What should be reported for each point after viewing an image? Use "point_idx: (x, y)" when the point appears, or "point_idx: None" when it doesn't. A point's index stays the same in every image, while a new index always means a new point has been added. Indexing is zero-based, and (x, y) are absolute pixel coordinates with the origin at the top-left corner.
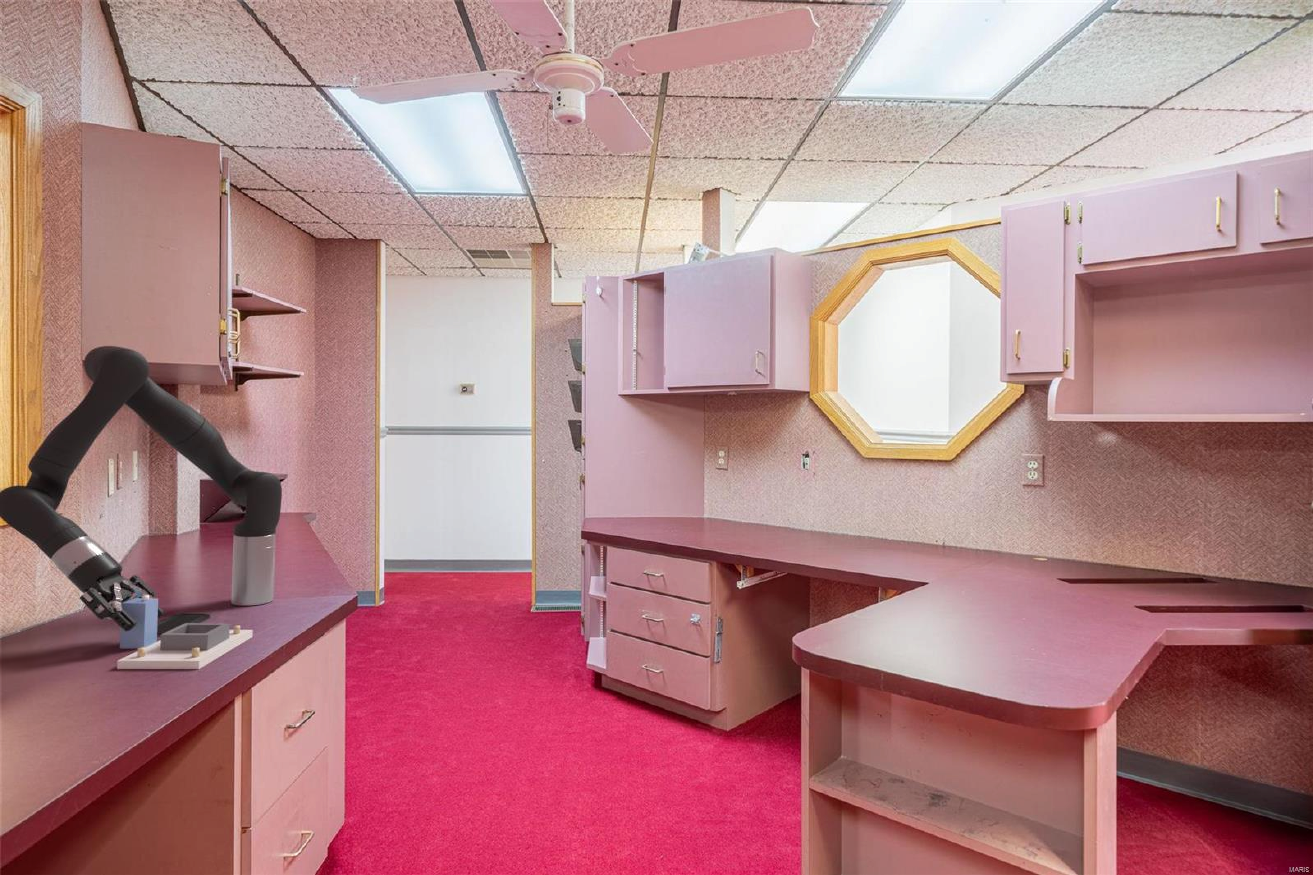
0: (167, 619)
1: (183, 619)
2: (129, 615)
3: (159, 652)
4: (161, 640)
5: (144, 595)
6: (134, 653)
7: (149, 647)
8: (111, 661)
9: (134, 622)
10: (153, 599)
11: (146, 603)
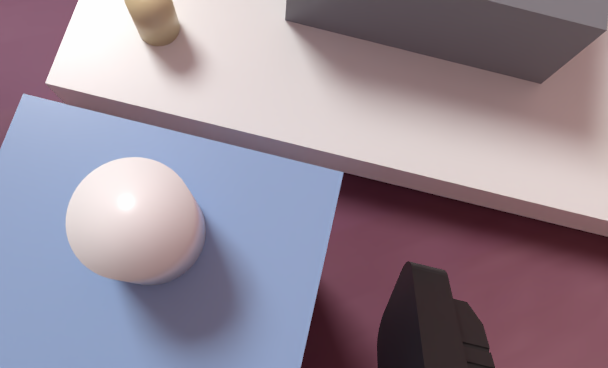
0: None
1: None
2: (421, 341)
3: (581, 76)
4: (578, 47)
5: (84, 248)
6: (593, 205)
7: (471, 161)
8: (544, 345)
9: (434, 274)
10: (86, 138)
11: (315, 169)
